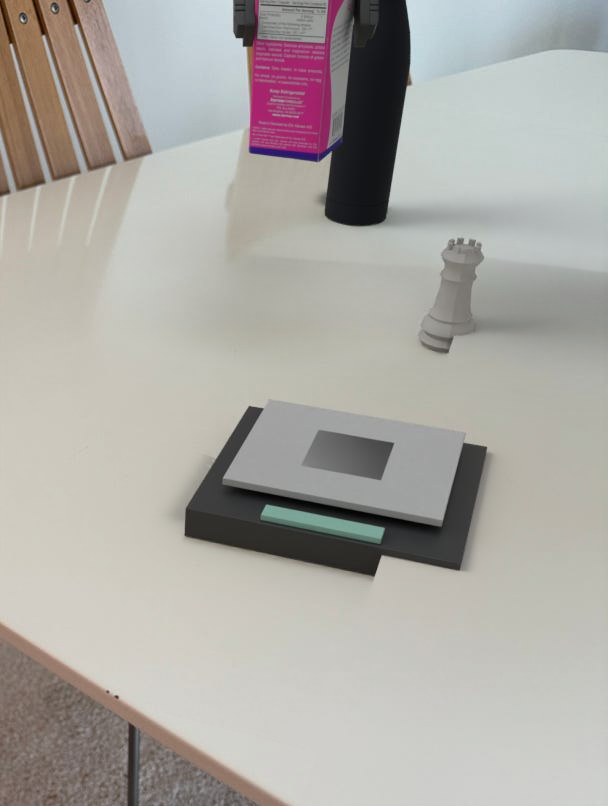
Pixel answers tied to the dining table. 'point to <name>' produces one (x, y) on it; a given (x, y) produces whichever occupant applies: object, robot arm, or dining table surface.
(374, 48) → the wine bottle
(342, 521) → the kitchen scale
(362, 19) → the robot arm
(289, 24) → the supplement box
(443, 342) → the rook chess piece
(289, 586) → the dining table surface
